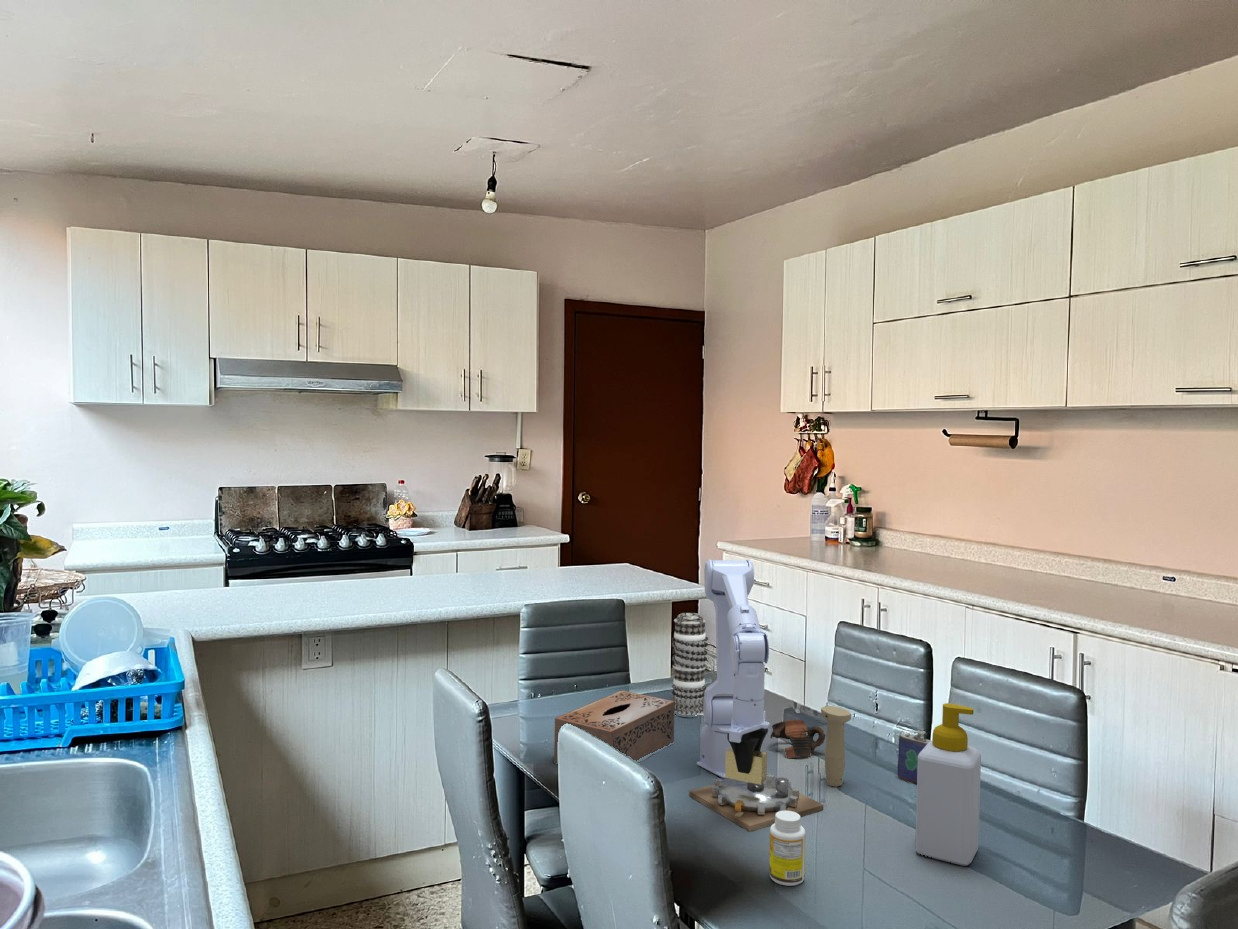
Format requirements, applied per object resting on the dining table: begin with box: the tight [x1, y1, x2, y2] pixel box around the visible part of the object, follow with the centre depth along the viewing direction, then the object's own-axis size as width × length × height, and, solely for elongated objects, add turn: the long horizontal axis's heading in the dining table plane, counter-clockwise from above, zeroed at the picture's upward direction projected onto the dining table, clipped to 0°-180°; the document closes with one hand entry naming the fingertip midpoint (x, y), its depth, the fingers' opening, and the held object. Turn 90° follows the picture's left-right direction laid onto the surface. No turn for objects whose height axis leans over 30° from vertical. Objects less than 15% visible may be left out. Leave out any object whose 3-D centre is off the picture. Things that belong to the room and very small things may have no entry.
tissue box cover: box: [553, 690, 675, 765], centre depth 197 cm, size 26×14×10 cm, turn 146°
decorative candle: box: [671, 612, 709, 716], centre depth 226 cm, size 9×9×25 cm
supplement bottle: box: [769, 811, 806, 887], centre depth 142 cm, size 6×6×10 cm
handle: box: [820, 705, 852, 788], centre depth 181 cm, size 5×6×15 cm
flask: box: [897, 730, 932, 785], centre depth 183 cm, size 9×3×11 cm, turn 50°
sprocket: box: [712, 773, 800, 815], centre depth 172 cm, size 16×16×4 cm
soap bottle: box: [914, 702, 982, 866], centre depth 152 cm, size 9×9×25 cm
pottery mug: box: [769, 719, 826, 759], centre depth 200 cm, size 12×10×8 cm
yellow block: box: [724, 747, 768, 785], centre depth 167 cm, size 7×3×5 cm, turn 62°
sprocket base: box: [688, 784, 824, 832], centre depth 172 cm, size 18×18×1 cm
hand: (747, 769), depth 167 cm, fingers closed on yellow block, 3 cm apart
